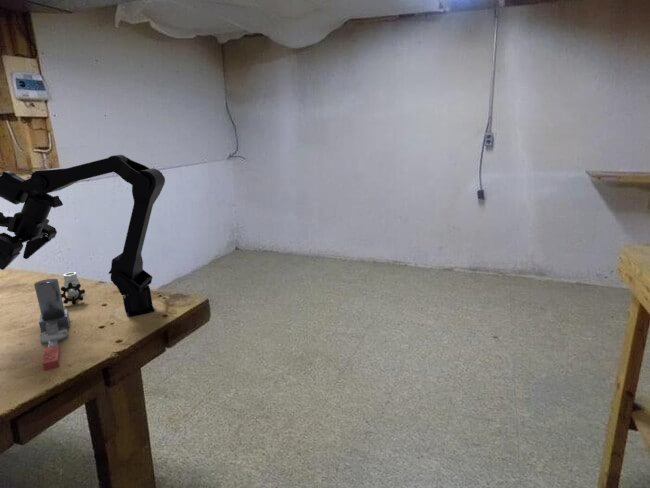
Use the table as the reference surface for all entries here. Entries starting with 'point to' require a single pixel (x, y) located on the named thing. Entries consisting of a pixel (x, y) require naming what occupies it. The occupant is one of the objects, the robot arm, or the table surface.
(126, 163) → the robot arm
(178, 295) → the table surface
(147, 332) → the table surface
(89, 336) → the table surface
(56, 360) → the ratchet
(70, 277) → the valve
